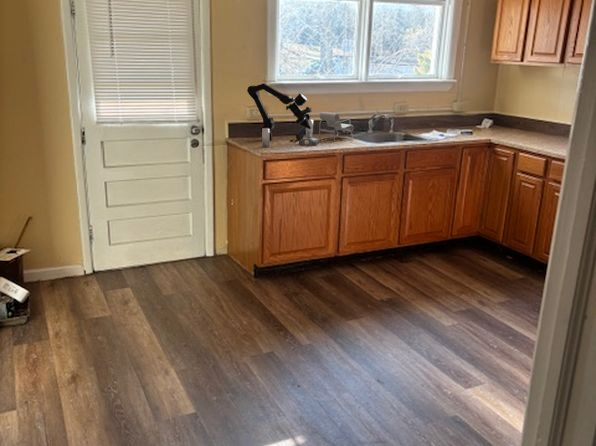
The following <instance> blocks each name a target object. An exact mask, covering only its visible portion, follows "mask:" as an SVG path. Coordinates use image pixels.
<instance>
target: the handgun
mask: <svg viewBox="0 0 596 446" xmlns="http://www.w3.org/2000/svg"><path fill="white" fill-rule="evenodd" d="M304 136H306V127H304V126H302V127H301V128H300V129H299V130H298V131H297V133H295V139H296V140H298V141H299V140H301V139H303V138H304Z"/></svg>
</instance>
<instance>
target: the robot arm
mask: <svg viewBox="0 0 596 446" xmlns="http://www.w3.org/2000/svg"><path fill="white" fill-rule="evenodd" d="M262 90H263V91H264V92H266V93H269V94H270V95H272V96H274V97H275V98H277V99H278V100H279V102H281V103H282V104H284V105H286V106H285V109H286V110H285V111H288V110H289V111H290V112H291V113H292V114H293V116H294V117H296V118H297V119H296V120H295V123H296V124H297V125H300V126H302V127H303V126H304V127H306V128H308V129H311V127H310V126H309V124H308V122H307V120H311V117H312V116H311V114H310V113H312V112H313V111H312V107H310V106H306V107H305V108H304V109H303V108H300V107H302V106H303V105H304V104H306V103H307V101H308V99H307V97H306V96H305V95H303V94H302V93H301V92H300V93H298V95H297V96H296V97H292V95H289V94H287V93H283V92H281V91H279V90H277V89H276V88H274V87H272V86H271V85H269V84H268V83H265V82H264V83H260V84H258V85H249V86H248V87H247V91H246V92H247V94H248V95H249V96H250V98H252V100H253V101H254V104H255V105H256V107H257V109H258V112H259V114H260V115H261V118H262V123H263V126H262V127H261V128H260V131H261V132H262V128H270V137H269V142H270V141H272V140H273V133H272V132H273V129H274V128H275V126H276V121H275V119H274V117H273V116H271V117H270V115H269V114H268V112H267V109H266V107H265V105H264V103H263V101H262V99H261V96H260V91H262ZM260 141H262V138H261V139H260Z"/></svg>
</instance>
